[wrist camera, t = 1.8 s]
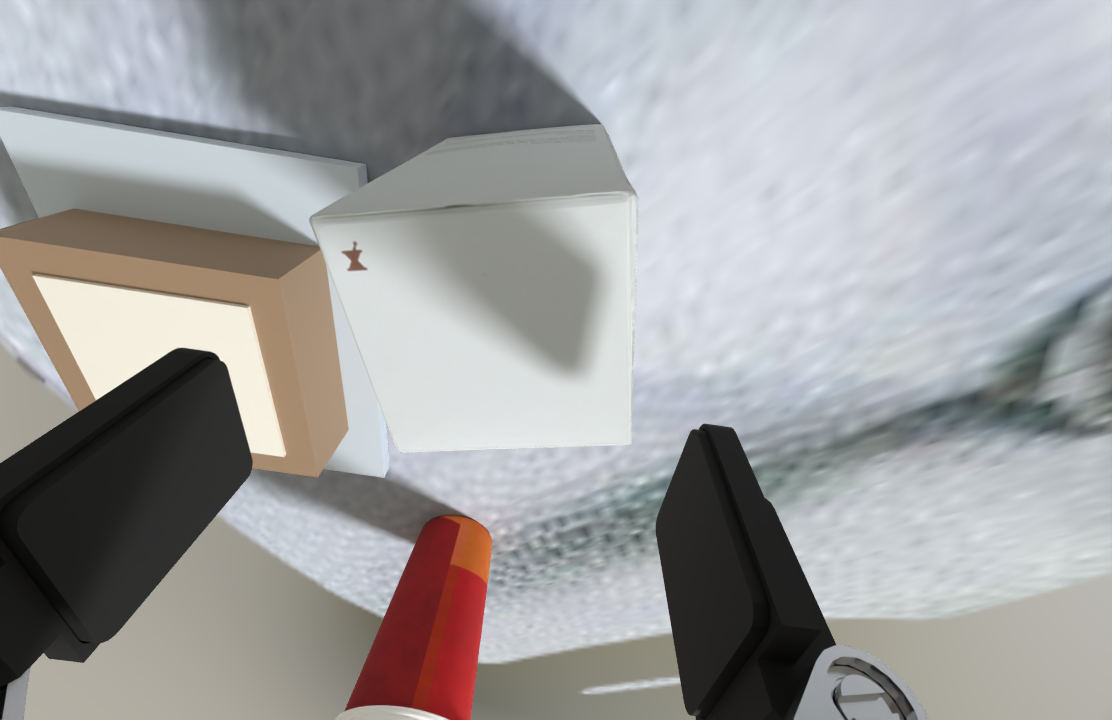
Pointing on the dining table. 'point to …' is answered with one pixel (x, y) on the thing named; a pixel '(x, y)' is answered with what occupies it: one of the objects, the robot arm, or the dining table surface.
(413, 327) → the supplement box
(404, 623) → the paper cup
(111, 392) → the robot arm
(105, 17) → the dining table surface
